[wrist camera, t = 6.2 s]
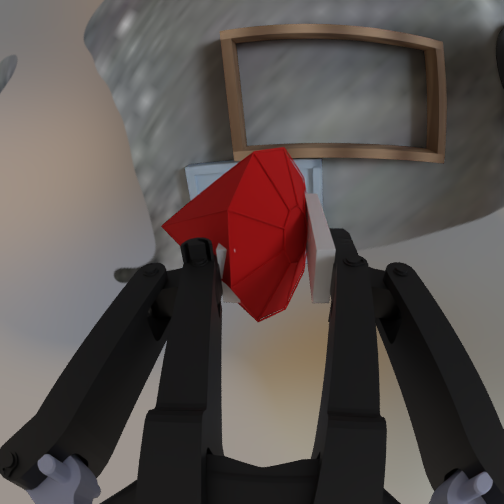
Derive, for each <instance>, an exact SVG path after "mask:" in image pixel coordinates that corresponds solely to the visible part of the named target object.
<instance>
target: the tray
mask: <svg viewBox="0 0 504 504" xmlns="http://www.w3.org/2000/svg"><path fill="white" fill-rule="evenodd" d="M292 159H293V161H294V162H295V164H296V165H297V167H298V168H299V170H300V172H301V173H302V175H303V176H304V179H305V185H306V192H307V193H315V194H318V197H319V200H320V203H321V206H322V158H292ZM290 160H291V159H290ZM291 161H292V160H291ZM239 162H240V161H234V160H228V161H217V162H207V163H197V164H189V165H188V166H186V167H185V171H186V177H187V183H188V189H189V194H190V200H192V199H194V198H195V197H196V196H197V195H198V194H200V193H201V192H202V191H203V190H205V189H206V188H207V187H208V186H209V185H211V184H212V183H213V182H214V181H216V180H217V179H218V178H220V177H221V176H222V175H223V174H225V173H226V172H227V171H228V170H230V169H231V168H232V167H234V166H235V165H236V164H238V163H239ZM292 163H293V162H292ZM293 164H294V163H293ZM294 166H295V165H294ZM295 167H296V166H295ZM296 169H297V168H296ZM297 170H298V169H297ZM298 172H299V171H298ZM300 175H301V174H300ZM301 177H302V176H301ZM302 178H303V177H302ZM303 183H304V181H303ZM305 254H306V251H305ZM305 264H308V263H307V255H306V262H305Z"/></svg>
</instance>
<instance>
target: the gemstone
mask: <svg viewBox="0 0 504 504" xmlns="http://www.w3.org/2000/svg"><path fill="white" fill-rule="evenodd" d="M264 151H265V152H264ZM257 152H258V153H257ZM286 153H287V154H288V155H287V154H286ZM288 156H289V157H290V158H289V157H288ZM290 159H291V160H292V161H291V160H290ZM292 162H293V163H294V164H293V163H292ZM294 165H295V166H296V167H295V166H294ZM296 168H297V169H298V170H297V169H296ZM298 171H299V172H298ZM300 174H301V175H300ZM301 176H302V177H303V178H302V177H301ZM303 181H304V183H303ZM305 193H307V192H306V185H305V179H304V176H303V175H302V173H301V172H300V170H299V168H298V167H297V165H296V164H295V162H294V161H293V159H292V158H291V156H290V155H289V153H288V152H287V150H286V149H285V147H280V148H273V149H265V150H258V151H253V152H252V153H251V154H249V155H248V156H247V157H245V158H244V159H243V160H241V161H240V162H239V163H238V164H236V165H235V166H234V167H232V168H231V169H230V170H228V171H227V172H226V173H225V174H223V175H222V176H221V177H220V178H218V179H217V180H216V181H214V182H213V183H212V184H211V185H209V186H208V187H207V188H206V189H205V190H203V191H202V192H201V193H200V194H198V195H197V196H196V197H195V198H194V199H192V200H191V201H190V202H189V203H188V204H186V205H185V206H184V207H183V208H182V209H180V210H179V211H178V212H177V213H176V214H175V216H174V215H173V216H172V217H171V218H170V219H169V220H168V222H167V221H166V222H165V223H164V224H163V225H162V226H161V227H162V228H163V229H164V230H165V231H166V232H167V233H168V234H169V235H170V236H171V237H172V238H173V239H174V240H175V241H176V242H177V243H178V244H179V245H180V246H181V244H182V243H183V242H185V241H186V240H189V239H192V238H197V237H204V238H208V239H209V240H211V242H212V246H213V253H214V255H216V256H217V253H216V249H217V246H218V243H220V244H221V245H222V246H223V247H224V248H225V249H227V252H226V258H225V264H224V270H223V276H222V279H221V280H222V281H223V282H224V283H225V284H226V285H227V286H228V287H229V288H230V289H231V290H232V291H233V292H234V293H235V295H236V296H237V297H238V298H239V299H240V301H241V302H240V303H238V304H239V305H240V306H241V307H243V309H244V310H246V311H247V312H248V313H249V314H250V315H251V316H252V317H253V318H254V319H255V320H256V321H257V322H260V321H262V320H264V319H267V318H269V317H271V316H273V315H275V314H277V313H279V312H281V311H283V310H285V309H286V308H287V306H288V304H289V302H290V300H291V298H292V296H293V293H294V291H295V289H296V287H297V285H298V283H299V281H300V279H301V277H302V275H303V273H304V269H305V262H306V254H305V251H306V241H307V221H306V212H305ZM234 249H235V251H234ZM302 271H303V272H302ZM301 273H302V274H301ZM300 275H301V276H300ZM299 277H300V278H299ZM298 279H299V280H298ZM297 281H298V282H297ZM296 283H297V284H296ZM295 285H296V286H295ZM294 288H295V289H294ZM293 290H294V291H293ZM292 292H293V293H292ZM291 294H292V295H291ZM290 296H291V297H290ZM289 298H290V299H289ZM288 300H289V301H288ZM285 306H286V307H285ZM283 308H284V309H283ZM281 309H282V310H281ZM279 310H280V311H279ZM276 311H278V312H276ZM274 312H276V313H274ZM272 313H273V314H272ZM270 314H271V315H270ZM268 315H269V316H268ZM266 316H267V317H266ZM263 317H265V318H263ZM261 318H263V319H261ZM260 319H261V320H260Z"/></svg>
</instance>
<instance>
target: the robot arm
mask: <svg viewBox="0 0 504 504" xmlns="http://www.w3.org/2000/svg"><path fill="white" fill-rule="evenodd" d="M496 54H497V64H498V69H499V74H500V78H501V81H502V84H503V87H504V28H503V29H502V31H501V32H500V34H499V36H498V40H497V48H496ZM305 212H306V221H307V241H306V255H307V263H308V271H309V278H310V287H311V296H312V303H329V300H330V295H331V300H332V301H331V307H330V314H329V320H328V322H329V332H328V344H327V355H326V364H325V374H324V382H323V391H322V397H321V405H320V412H319V418H318V425H317V431H316V437H315V443H314V448H313V452H312V456H311V459H303V460H298V461H294V462H290V463H285V464H280V465H275V466H270V467H257V466H254V465H250V464H247V463H244V462H241V461H238V460H234V459H231V458H228V457H225V456H224V453H223V447H222V414H221V413H222V412H221V411H222V410H221V334H222V333H221V330H222V306H221V296H222V295H223V301H224V302H234V303H240V302H241V301H240V299H239V298H238V297H237V296H236V295H235V293H234V292H233V291H232V290H231V289H230V288H229V287H228V286H227V285H226V284H225V283H224V282H223V281H222V280H221V279H222V276H223V270H224V264H225V258H226V252H227V249H225V248H224V247H223V246H222V245H221V244H220V243H218V246H217V249H216V253H217V256H216V255H214V253H213V246H212V242H211V240H209V239H208V238H204V237H197V238H192V239H189V240H186V241H185V242H183V243H182V244H181V246H180V248H181V253H182V258H183V262H184V264H183V268H180V269H176V270H171V271H166V268H165V266H164V265H163V264H161V263H150V264H146V265H145V266H143V267H141V268H140V269H139V270H138V271H137V272H136V273H135V274H134V276H133V277H132V278H131V279H130V281H129V282H128V283H127V284H126V286H125V287H124V288H123V289H122V291H121V292H120V293H119V295H118V296H117V297H116V298H115V300H114V301H113V302H112V304H111V305H110V306H109V308H108V309H107V310H106V311H105V313H104V314H103V316H102V317H101V318H100V320H99V321H98V322H97V324H96V325H95V326H94V328H93V329H92V330H91V332H90V333H89V335H88V336H87V337H86V339H85V340H84V342H83V343H82V345H81V346H80V347H79V349H78V350H77V352H76V353H75V354H74V356H73V357H72V359H71V360H70V362H69V363H68V365H67V366H66V368H65V369H64V371H63V372H62V374H61V375H60V377H59V378H58V380H57V381H56V383H55V385H54V386H53V388H52V389H51V391H50V392H49V394H48V396H47V397H46V399H45V400H44V402H43V404H42V406H41V407H40V409H39V410H38V412H37V414H36V415H35V416H34V417H33V418H32V419H31V420H29V421H28V422H27V423H26V424H25V425H24V426H23V427H22V428H21V429H20V430H19V431H18V432H16V433H15V434H14V436H12V437H11V438H10V439H9V440H8V441H7V442H6V443H5V444H4V445H3V446H2V447H1V449H0V474H1V475H2V476H3V477H4V478H5V479H7V480H9V481H10V482H12V483H14V484H16V485H18V486H20V487H22V488H23V489H24V490H26V491H27V492H28V494H29V495H30V497H31V498H32V500H33V501H34V502H35V504H92V501H93V499H94V498H97V497H98V496H99V495H100V492H101V490H100V487H99V485H98V483H97V479H96V478H97V477H98V476H99V475H100V474H101V472H102V471H103V469H104V467H105V466H106V465H107V463H108V461H109V459H110V457H111V455H112V454H113V451H114V449H115V447H116V445H117V443H118V440H119V438H120V436H121V434H122V431H123V429H124V427H125V425H126V423H127V420H128V419H129V416H130V414H131V412H132V410H133V408H134V405H135V404H136V401H137V400H138V397H139V395H140V393H141V391H142V389H143V387H144V385H145V383H146V381H147V379H148V377H149V375H150V373H151V371H152V369H153V367H154V365H155V362H156V360H157V358H158V356H159V354H160V352H161V350H162V348H163V346H164V344H165V342H166V341H167V344H166V349H165V354H164V360H163V366H162V371H161V377H160V383H159V390H158V396H157V403H156V407H155V408H154V409H152V410H149V411H148V413H147V415H146V418H145V423H144V430H143V437H142V444H141V452H140V459H139V468H138V478H137V480H136V481H134V482H133V483H132V484H130V485H128V486H127V487H125V488H124V489H122V490H121V491H119V492H118V493H116V494H114V495H113V496H111V497H110V498H108V499H107V500H105V501H103V502H102V503H100V504H401V503H399V502H398V501H397V500H396V499H395V498H394V497H393V496H392V495H391V494H389V493H388V492H387V491H386V490H385V489H384V477H385V462H386V437H387V436H386V434H387V428H386V421H385V418H384V417H381V415H380V393H379V364H378V348H377V335H376V326H377V328H378V331H379V333H380V336H381V338H382V341H383V343H384V346H385V348H386V351H387V354H388V356H389V359H390V362H391V364H392V367H393V370H394V372H395V375H396V378H397V381H398V383H399V386H400V389H401V392H402V395H403V398H404V401H405V404H406V407H407V410H408V413H409V416H410V420H411V423H412V426H413V430H414V433H415V436H416V440H417V443H418V447H419V451H420V454H421V458H422V462H423V465H424V468H425V472H426V475H427V477H428V479H429V482H430V484H431V486H432V488H433V490H434V491H435V492H434V493H433V495H432V497H431V501H430V502H429V504H504V429H503V427H502V425H501V423H500V420H499V418H498V415H497V413H496V410H495V408H494V406H493V404H492V401H491V399H490V397H489V395H488V393H487V391H486V388H485V386H484V384H483V383H482V380H481V378H480V376H479V374H478V372H477V370H476V369H475V367H474V365H473V363H472V361H471V359H470V358H469V355H468V354H467V352H466V350H465V348H464V346H463V345H462V343H461V341H460V340H459V338H458V336H457V335H456V333H455V331H454V329H453V328H452V326H451V324H450V323H449V321H448V320H447V318H446V316H445V315H444V313H443V312H442V310H441V309H440V307H439V306H438V304H437V302H436V301H435V299H434V298H433V296H432V295H431V293H430V292H429V290H428V289H427V288H426V286H425V285H424V283H423V282H422V280H421V279H420V278H419V276H418V275H417V273H416V272H415V271H414V270H413V269H412V267H410V266H408V265H406V264H404V263H400V262H399V263H397V262H395V263H390V264H389V265H388V266H387V268H386V271H383V270H378V269H373V268H371V267H368V263H367V261H366V260H365V259H364V258H363V257H361V256H359V255H358V253H357V250H356V248H355V246H354V244H353V241H352V240H351V236H350V234H349V233H348V232H347V231H346V230H344V229H332V228H329V227H328V224H327V221H326V218H325V215H324V212H323V209H322V206H321V203H320V200H319V197H318V194H315V193H305ZM234 251H235V249H234Z"/></svg>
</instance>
